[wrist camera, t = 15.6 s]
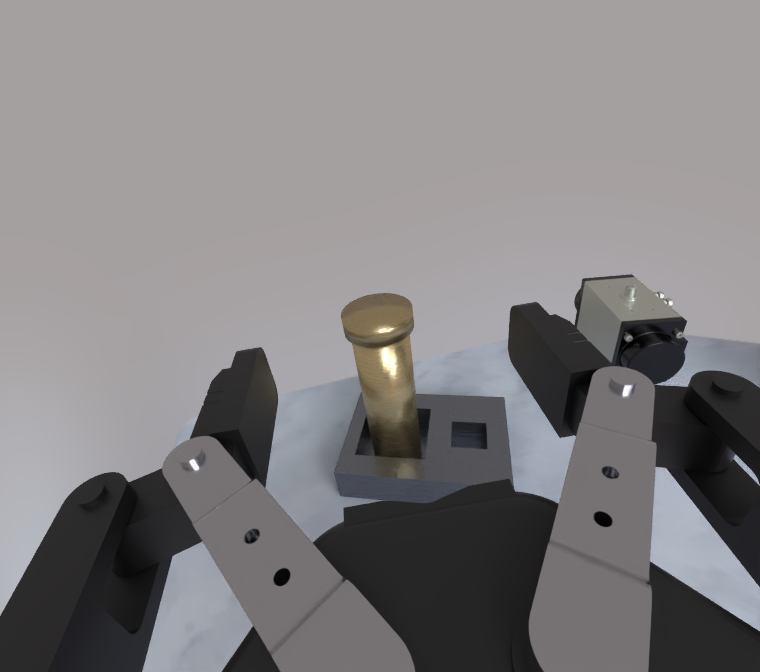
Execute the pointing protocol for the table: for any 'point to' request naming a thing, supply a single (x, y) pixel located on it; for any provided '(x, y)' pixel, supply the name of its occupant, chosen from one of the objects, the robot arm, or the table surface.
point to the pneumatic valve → (631, 325)
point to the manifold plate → (430, 452)
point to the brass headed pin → (385, 371)
